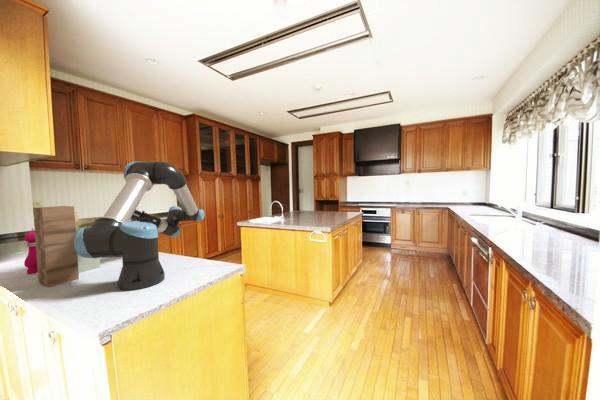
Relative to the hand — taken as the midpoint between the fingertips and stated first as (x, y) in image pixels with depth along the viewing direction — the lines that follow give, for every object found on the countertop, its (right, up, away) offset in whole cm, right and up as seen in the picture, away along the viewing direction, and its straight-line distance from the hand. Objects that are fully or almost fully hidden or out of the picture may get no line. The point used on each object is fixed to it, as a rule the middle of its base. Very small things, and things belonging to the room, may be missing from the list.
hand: (120, 208), depth 119 cm
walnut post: (-4, -28, -26) cm, 39 cm away
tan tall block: (-6, -8, -12) cm, 15 cm away
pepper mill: (-26, -28, -14) cm, 41 cm away
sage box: (-7, -28, -14) cm, 32 cm away
